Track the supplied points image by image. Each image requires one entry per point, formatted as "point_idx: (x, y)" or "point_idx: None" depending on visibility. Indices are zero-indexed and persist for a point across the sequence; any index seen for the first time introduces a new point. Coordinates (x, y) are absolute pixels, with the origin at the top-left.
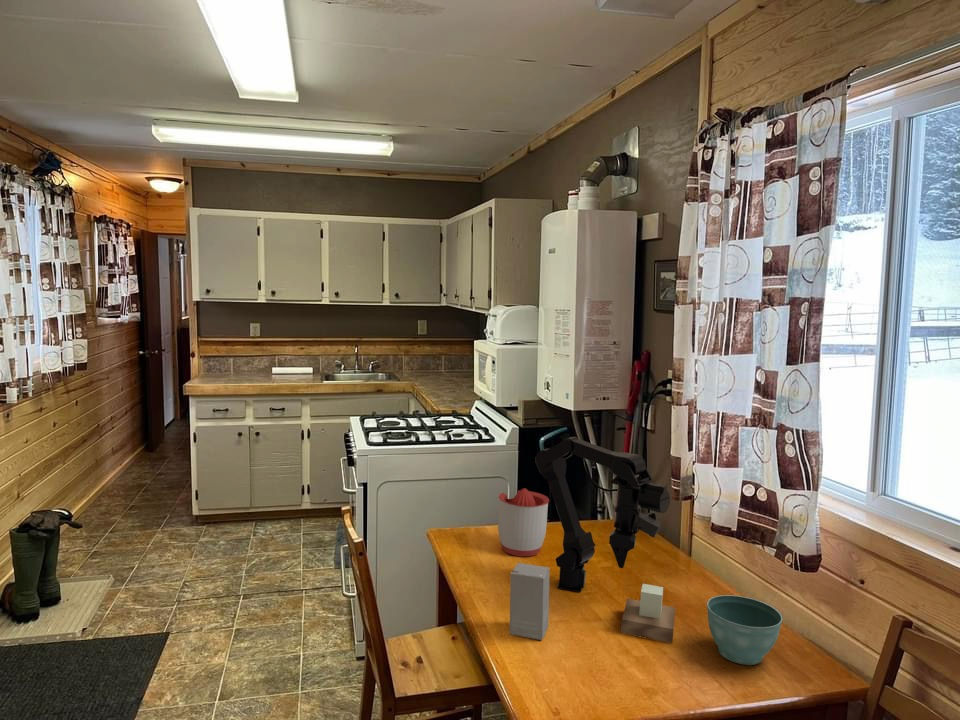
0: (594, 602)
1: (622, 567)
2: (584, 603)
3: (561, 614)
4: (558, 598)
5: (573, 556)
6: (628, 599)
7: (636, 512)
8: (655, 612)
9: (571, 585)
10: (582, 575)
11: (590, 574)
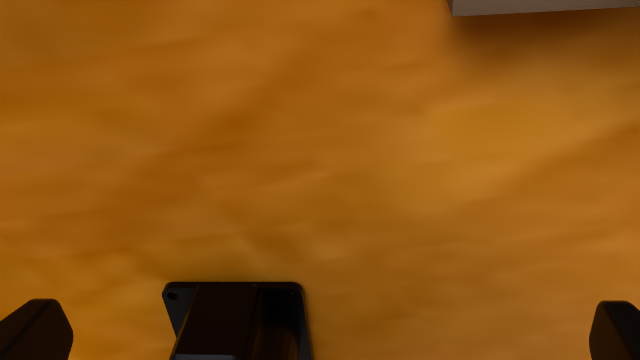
0: (387, 197)
1: (633, 315)
2: (430, 242)
3: None
4: (427, 352)
5: None
6: (469, 1)
7: None
8: None
9: (295, 344)
10: (242, 356)
11: (12, 268)
